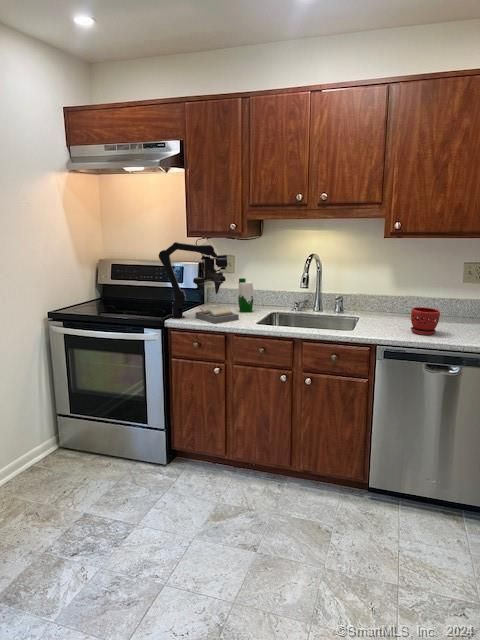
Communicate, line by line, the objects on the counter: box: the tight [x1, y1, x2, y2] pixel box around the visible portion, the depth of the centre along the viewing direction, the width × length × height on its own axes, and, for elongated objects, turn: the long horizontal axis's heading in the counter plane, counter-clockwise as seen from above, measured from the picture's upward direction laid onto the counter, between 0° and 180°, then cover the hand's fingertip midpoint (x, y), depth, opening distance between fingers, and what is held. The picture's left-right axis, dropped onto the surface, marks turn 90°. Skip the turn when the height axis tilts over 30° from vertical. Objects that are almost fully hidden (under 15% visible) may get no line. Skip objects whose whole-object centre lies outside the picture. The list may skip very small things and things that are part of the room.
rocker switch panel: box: [195, 311, 240, 325], centre depth 264 cm, size 20×16×3 cm
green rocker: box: [209, 306, 234, 316], centre depth 260 cm, size 6×12×2 cm, turn 127°
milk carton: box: [237, 277, 254, 313], centre depth 283 cm, size 9×9×20 cm
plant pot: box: [410, 306, 441, 336], centre depth 229 cm, size 13×13×12 cm
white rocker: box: [198, 304, 222, 313], centre depth 268 cm, size 6×12×2 cm, turn 127°
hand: (209, 294), depth 267 cm, fingers open, 9 cm apart
